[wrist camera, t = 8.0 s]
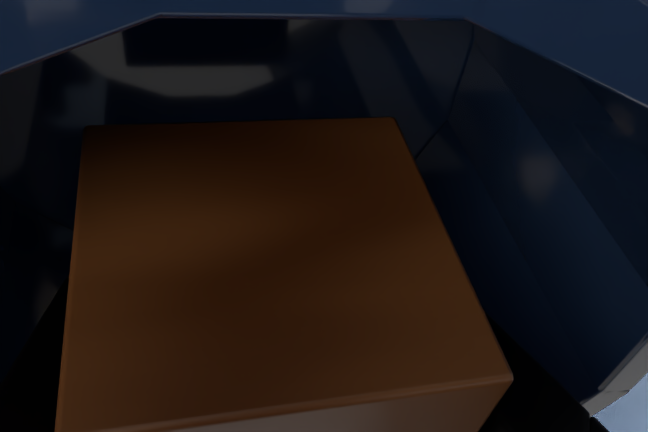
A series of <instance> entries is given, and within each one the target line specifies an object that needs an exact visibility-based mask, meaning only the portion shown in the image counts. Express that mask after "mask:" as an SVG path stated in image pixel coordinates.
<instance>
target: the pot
mask: <svg viewBox="0 0 648 432" xmlns="http://www.w3.org/2000/svg"><path fill="white" fill-rule="evenodd" d="M360 117H394V118H395V119H396V121H397V123H398V125H399V127H400V129H401V131H402V134H403V136H404V138H405V140H406V142H407V144H408V147H409V149H410V151H411V153H412V155H413V158H414V160H415V162H416V164H417V166H418V168H419V171H420V173H421V175H422V177H423V179H424V181H425V184H426V186H427V188H428V190H429V192H430V195H431V197H432V199H433V201H434V203H435V205H436V208H437V210H438V212H439V214H440V216H441V218H442V221H443V223H444V225H445V227H446V229H447V232H448V234H449V236H450V238H451V240H452V242H453V245H454V247H455V249H456V251H457V253H458V255H459V258H460V260H461V262H462V264H463V266H464V269H465V271H466V273H467V275H468V277H469V279H470V282H471V284H472V286H473V288H474V290H475V292H476V295H477V297H478V299H479V301H480V303H481V306H482V308H483V310H484V311H485V312H486V313H487V314H488V315H489V316H490V317H491V318H492V319H493V320H494V321H496V322H497V323H498V324H499V325H500V326H501V327H502V328H503V329H504V330H505V331H506V332H507V333H508V334H509V335H510V336H511V337H512V338H513V339H514V340H515V341H516V342H517V343H518V344H519V345H520V346H521V347H522V348H523V349H524V350H525V351H526V352H527V353H529V354H530V355H531V356H532V357H533V358H534V359H535V360H536V361H537V362H538V363H539V364H540V365H541V366H542V367H543V368H544V369H545V370H546V371H547V372H548V373H549V374H550V375H551V376H552V377H553V378H554V379H555V380H556V381H557V382H558V383H559V384H560V385H562V386H563V387H564V388H565V389H566V390H567V391H568V392H569V393H570V394H571V395H572V396H573V397H574V398H575V399H576V400H577V401H578V402H579V403H580V404H581V405H582V406H583V407H584V408H585V409H586V410H587V411H588V412H589V413H590V417H591V416H593V415H594V414H596V413H597V412H599V411H600V410H602V409H603V408H605V407H607V406H608V405H610V404H611V403H613V402H614V401H616V400H617V399H619V398H620V397H622V396H624V395H625V394H627V393H628V392H629V391H630V389H632V388H633V387H634V386H635V385H636V384H637V383H638V382H639V381H640V380H641V379H642V378H643V377H644V376H645V375H646V374H647V373H648V0H0V384H1V383H2V381H3V379H4V378H5V376H6V375H7V373H8V371H9V370H10V368H11V366H12V365H13V363H14V361H15V360H16V358H17V357H18V355H19V353H20V352H21V350H22V348H23V347H24V345H25V344H26V342H27V340H28V339H29V337H30V335H31V334H32V332H33V331H34V329H35V327H36V326H37V324H38V322H39V321H40V319H41V318H42V316H43V314H44V313H45V311H46V309H47V308H48V306H49V304H50V303H51V301H52V300H53V298H54V296H55V295H56V293H57V291H58V290H59V288H60V287H61V285H62V283H63V282H64V280H65V279H66V277H67V276H68V275H69V273H70V262H71V251H72V241H73V230H74V220H75V209H76V199H77V188H78V178H79V167H80V157H81V146H82V136H83V130H84V128H85V126H88V125H111V124H147V123H182V122H218V121H253V120H289V119H325V118H360Z"/></svg>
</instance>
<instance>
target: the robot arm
mask: <svg viewBox="0 0 648 432" xmlns="http://www.w3.org/2000/svg"><path fill="white" fill-rule="evenodd" d="M68 283H69V275H68V276H67V277H66V279H65V280H64V282H63V283H62V285H61V287H60V288H59V290H58V291H57V293H56V295H55V296H54V298H53V300H52V301H51V303H50V304H49V306H48V308H47V309H46V311H45V313H44V314H43V316H42V318H41V319H40V321H39V322H38V324H37V326H36V327H35V329H34V331H33V332H32V334H31V335H30V337H29V339H28V340H27V342H26V344H25V345H24V347H23V348H22V350H21V352H20V353H19V355H18V357H17V358H16V360H15V361H14V363H13V365H12V366H11V368H10V370H9V371H8V373H7V375H6V376H5V378H4V379H3V381H2V383H1V384H0V432H54V430H55V420H56V409H57V399H58V388H59V378H60V367H61V357H62V346H63V336H64V325H65V315H66V304H67V294H68ZM484 312H485V311H484ZM485 314H486V316H487V319H488V321H489V323H490V325H491V327H492V330H493V332H494V334H495V336H496V338H497V340H498V343H499V345H500V347H501V349H502V351H503V353H504V356H505V358H506V360H507V362H508V364H509V367H510V369H511V371H512V373H513V382H512V384H511V385H510V387H509V388H508V390H507V391H506V393H505V394H504V395H503V397H502V398H501V400H500V401H499V403H498V404H497V406H496V407H495V409H494V410H493V411H492V413H491V414H490V416H489V417H488V419H487V420H486V422H485V423H484V425H483V426H482V427H481V429H480V430H479V432H609V431H608V430H607V429H606V428H605V427H604V426H603V425H602V424H601V423H600V422H599V421H598V420H597V419H596V418H595V417H590V413H589V412H588V411H587V410H586V409H585V408H584V407H583V406H582V405H581V404H580V403H579V402H578V401H577V400H576V399H575V398H574V397H573V396H572V395H571V394H570V393H569V392H568V391H567V390H566V389H565V388H564V387H563V386H562V385H560V384H559V383H558V382H557V381H556V380H555V379H554V378H553V377H552V376H551V375H550V374H549V373H548V372H547V371H546V370H545V369H544V368H543V367H542V366H541V365H540V364H539V363H538V362H537V361H536V360H535V359H534V358H533V357H532V356H531V355H530V354H529V353H527V352H526V351H525V350H524V349H523V348H522V347H521V346H520V345H519V344H518V343H517V342H516V341H515V340H514V339H513V338H512V337H511V336H510V335H509V334H508V333H507V332H506V331H505V330H504V329H503V328H502V327H501V326H500V325H499V324H498V323H497V322H496V321H494V320H493V319H492V318H491V317H490V316H489V315H488V314H487V313H486V312H485Z"/></svg>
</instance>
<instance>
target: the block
mask: <svg viewBox="0 0 648 432" xmlns="http://www.w3.org/2000/svg"><path fill="white" fill-rule="evenodd" d="M512 382H513V373H512V371H511V369H510V367H509V364H508V362H507V360H506V358H505V356H504V353H503V351H502V349H501V347H500V345H499V343H498V340H497V338H496V336H495V334H494V332H493V330H492V327H491V325H490V323H489V321H488V319H487V316H486V314H485V312H484V310H483V308H482V306H481V303H480V301H479V299H478V297H477V295H476V292H475V290H474V288H473V286H472V284H471V282H470V279H469V277H468V275H467V273H466V271H465V269H464V266H463V264H462V262H461V260H460V258H459V255H458V253H457V251H456V249H455V247H454V245H453V242H452V240H451V238H450V236H449V234H448V232H447V229H446V227H445V225H444V223H443V221H442V218H441V216H440V214H439V212H438V210H437V208H436V205H435V203H434V201H433V199H432V197H431V195H430V192H429V190H428V188H427V186H426V184H425V181H424V179H423V177H422V175H421V173H420V171H419V168H418V166H417V164H416V162H415V160H414V158H413V155H412V153H411V151H410V149H409V147H408V144H407V142H406V140H405V138H404V136H403V134H402V131H401V129H400V127H399V125H398V123H397V121H396V119H395V118H394V117H360V118H325V119H289V120H253V121H218V122H182V123H147V124H111V125H88V126H85V128H84V130H83V136H82V146H81V157H80V167H79V178H78V188H77V199H76V209H75V220H74V230H73V241H72V251H71V262H70V273H69V283H68V294H67V304H66V315H65V325H64V336H63V346H62V357H61V367H60V378H59V388H58V399H57V409H56V420H55V430H54V432H479V430H480V429H481V427H482V426H483V425H484V423H485V422H486V420H487V419H488V417H489V416H490V414H491V413H492V411H493V410H494V409H495V407H496V406H497V404H498V403H499V401H500V400H501V398H502V397H503V395H504V394H505V393H506V391H507V390H508V388H509V387H510V385H511V384H512Z"/></svg>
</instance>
